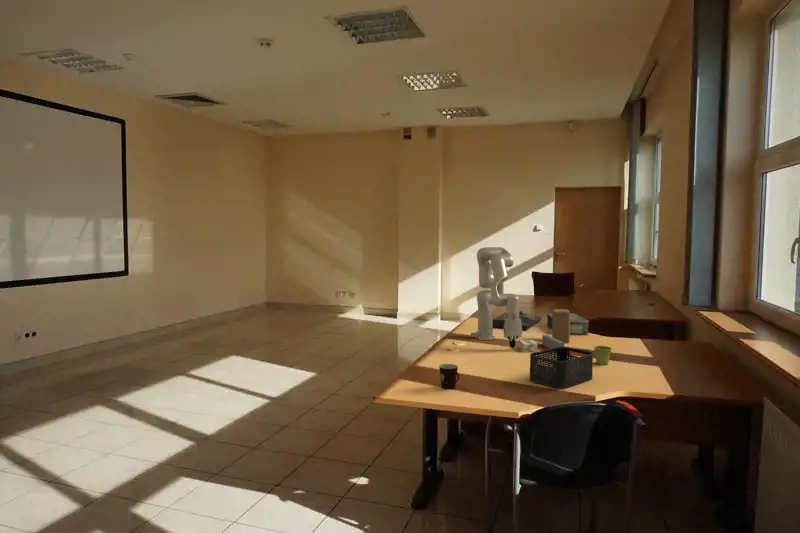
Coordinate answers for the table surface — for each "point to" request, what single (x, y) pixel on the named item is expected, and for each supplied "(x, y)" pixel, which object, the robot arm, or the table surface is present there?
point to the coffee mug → (448, 375)
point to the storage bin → (560, 367)
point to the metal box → (573, 324)
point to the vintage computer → (526, 319)
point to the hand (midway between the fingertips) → (512, 347)
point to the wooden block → (561, 325)
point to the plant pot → (602, 354)
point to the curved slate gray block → (551, 342)
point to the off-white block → (527, 345)
